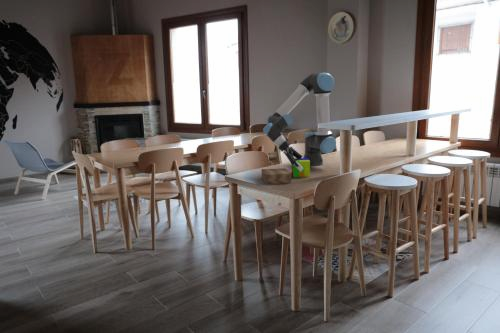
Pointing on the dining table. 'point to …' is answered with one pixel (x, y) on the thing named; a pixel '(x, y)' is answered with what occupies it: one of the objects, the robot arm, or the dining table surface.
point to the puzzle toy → (305, 164)
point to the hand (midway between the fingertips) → (304, 168)
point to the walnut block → (276, 176)
